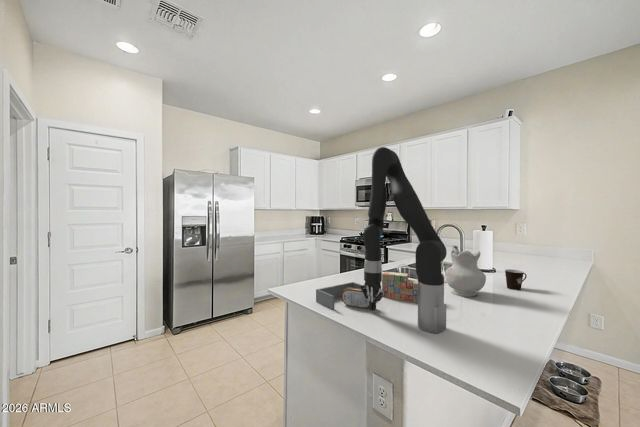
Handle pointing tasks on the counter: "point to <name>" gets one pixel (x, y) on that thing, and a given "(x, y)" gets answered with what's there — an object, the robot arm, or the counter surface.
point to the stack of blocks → (399, 286)
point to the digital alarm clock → (354, 298)
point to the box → (333, 293)
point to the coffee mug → (514, 279)
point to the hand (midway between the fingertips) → (372, 309)
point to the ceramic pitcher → (465, 273)
